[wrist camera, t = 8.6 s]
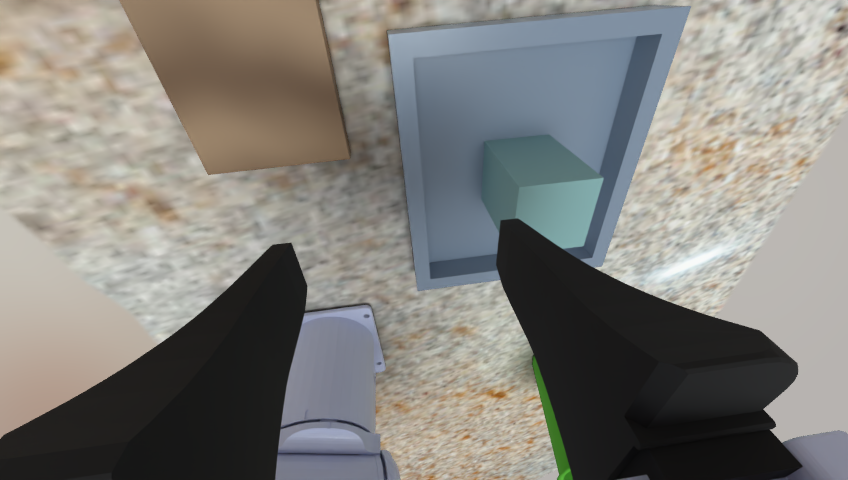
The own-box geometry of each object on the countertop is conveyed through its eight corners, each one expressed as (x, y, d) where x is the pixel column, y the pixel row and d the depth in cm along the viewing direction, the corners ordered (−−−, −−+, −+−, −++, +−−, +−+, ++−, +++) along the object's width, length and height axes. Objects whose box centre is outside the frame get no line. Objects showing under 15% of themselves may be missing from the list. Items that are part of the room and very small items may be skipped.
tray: (585, 246, 27) (601, 266, 25) (414, 269, 26) (417, 290, 24) (655, 5, 17) (691, 6, 15) (386, 30, 16) (388, 34, 14)
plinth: (350, 152, 20) (349, 158, 19) (214, 167, 19) (207, 174, 19) (315, -16, 15) (311, -17, 14) (133, -1, 15) (119, -1, 14)
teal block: (549, 134, 20) (603, 177, 15) (536, 205, 23) (579, 260, 18) (484, 140, 20) (519, 187, 15) (480, 211, 23) (508, 269, 18)
